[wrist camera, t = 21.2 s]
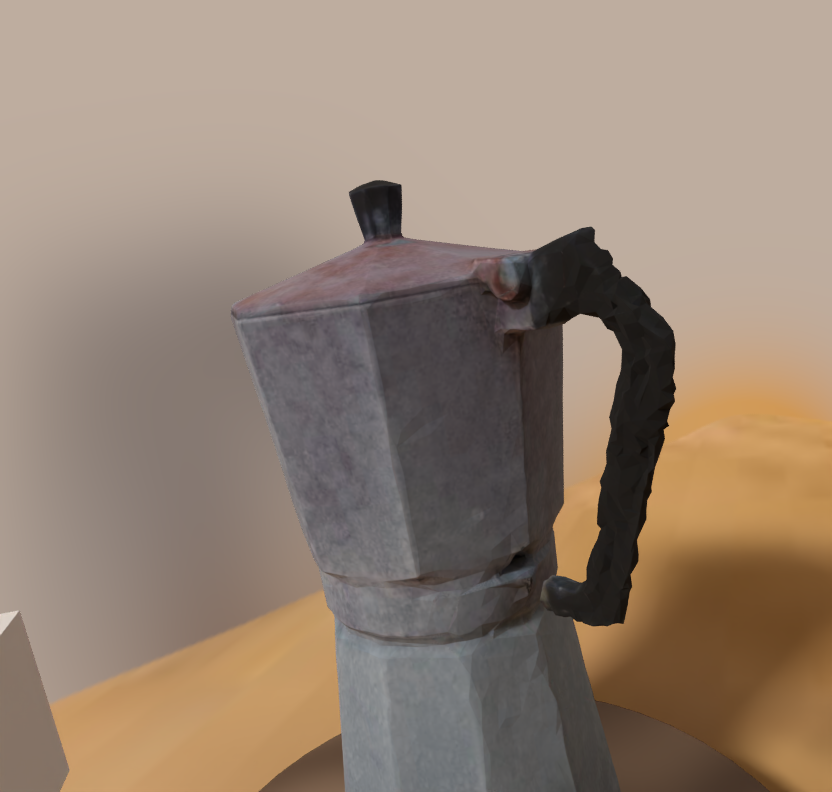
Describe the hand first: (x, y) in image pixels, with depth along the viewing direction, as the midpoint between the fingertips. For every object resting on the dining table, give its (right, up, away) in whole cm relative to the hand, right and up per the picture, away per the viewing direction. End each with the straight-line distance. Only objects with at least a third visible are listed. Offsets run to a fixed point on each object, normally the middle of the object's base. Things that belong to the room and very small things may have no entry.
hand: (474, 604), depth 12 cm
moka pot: (+2, -10, +13) cm, 17 cm away
